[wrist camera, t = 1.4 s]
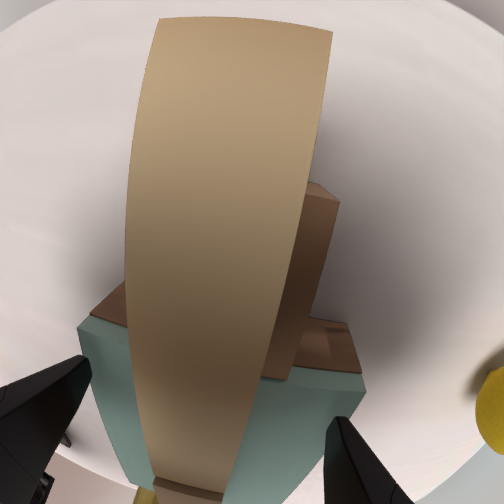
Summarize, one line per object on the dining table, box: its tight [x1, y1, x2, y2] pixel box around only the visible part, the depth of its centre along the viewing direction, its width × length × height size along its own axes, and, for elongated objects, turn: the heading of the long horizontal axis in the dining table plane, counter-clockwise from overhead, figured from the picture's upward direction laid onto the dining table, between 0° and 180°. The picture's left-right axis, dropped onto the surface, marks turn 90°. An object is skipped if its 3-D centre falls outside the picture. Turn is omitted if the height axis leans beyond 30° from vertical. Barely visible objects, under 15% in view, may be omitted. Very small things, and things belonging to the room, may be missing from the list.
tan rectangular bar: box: [125, 17, 333, 493], centre depth 6 cm, size 12×2×3 cm, turn 170°
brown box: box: [90, 182, 362, 380], centre depth 13 cm, size 22×11×4 cm, turn 170°
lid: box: [77, 315, 366, 504], centre depth 11 cm, size 16×11×5 cm
